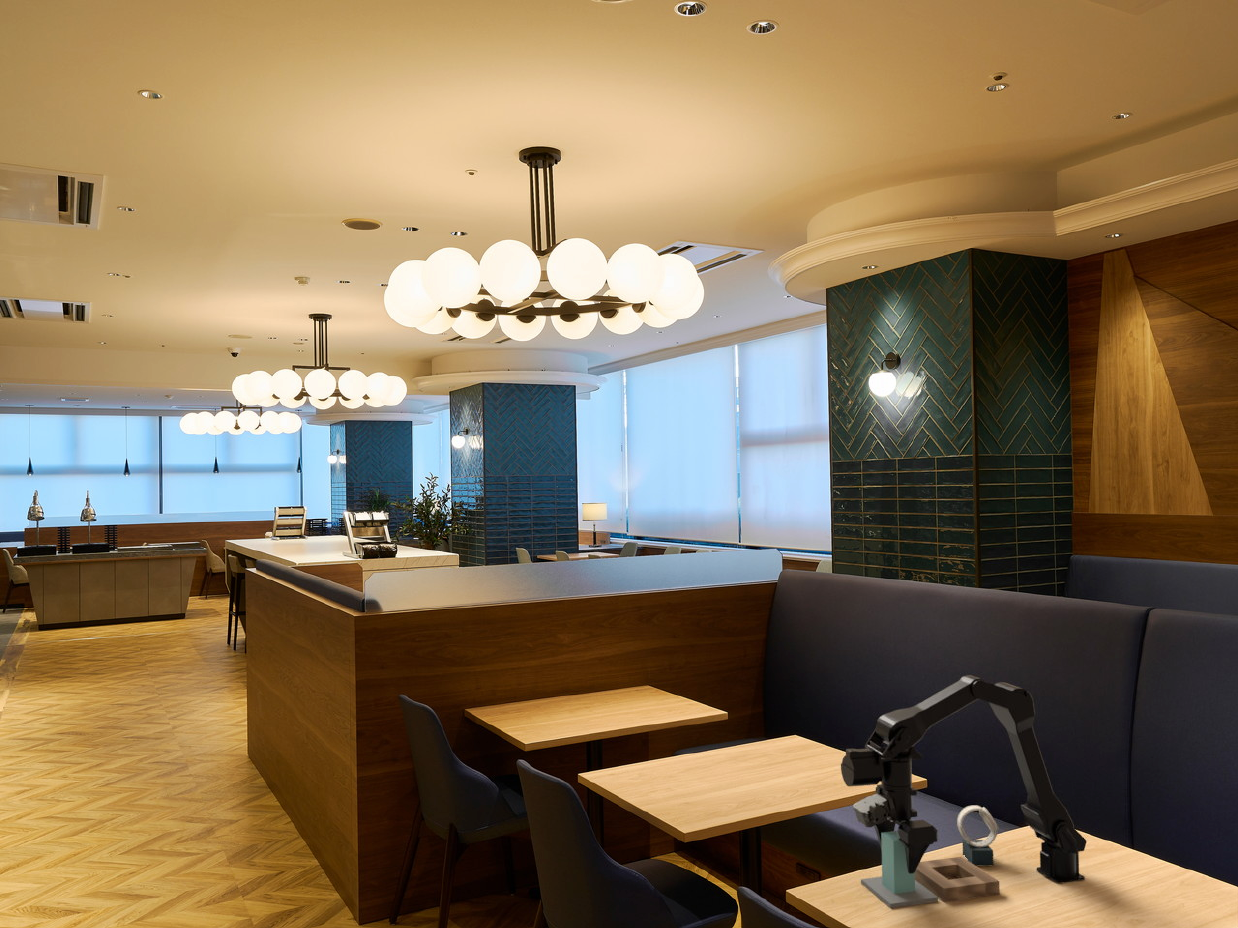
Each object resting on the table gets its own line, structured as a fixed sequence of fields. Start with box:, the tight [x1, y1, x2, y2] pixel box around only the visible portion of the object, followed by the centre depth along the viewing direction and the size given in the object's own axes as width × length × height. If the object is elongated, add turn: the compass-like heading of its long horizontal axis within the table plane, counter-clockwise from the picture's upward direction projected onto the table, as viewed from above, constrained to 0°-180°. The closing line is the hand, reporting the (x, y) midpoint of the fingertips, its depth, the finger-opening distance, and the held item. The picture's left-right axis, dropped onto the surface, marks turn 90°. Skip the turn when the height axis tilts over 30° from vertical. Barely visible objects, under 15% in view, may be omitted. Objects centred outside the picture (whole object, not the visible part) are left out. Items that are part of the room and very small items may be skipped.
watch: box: [956, 804, 1000, 866], centre depth 192 cm, size 6×8×11 cm
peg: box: [881, 830, 915, 894], centre depth 177 cm, size 4×4×10 cm
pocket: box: [915, 856, 1001, 903], centre depth 180 cm, size 12×12×2 cm
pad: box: [860, 876, 939, 909], centre depth 177 cm, size 10×11×1 cm
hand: (898, 863), depth 177 cm, fingers open, 9 cm apart
